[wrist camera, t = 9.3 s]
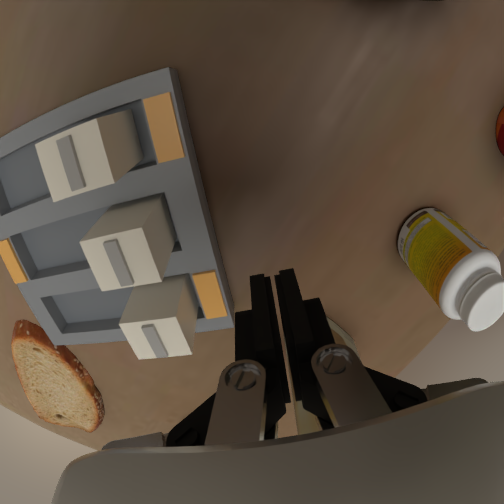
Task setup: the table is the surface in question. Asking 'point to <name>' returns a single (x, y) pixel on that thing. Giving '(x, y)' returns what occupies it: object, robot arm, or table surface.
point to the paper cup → (500, 131)
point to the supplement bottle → (453, 268)
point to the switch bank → (97, 203)
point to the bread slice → (55, 380)
